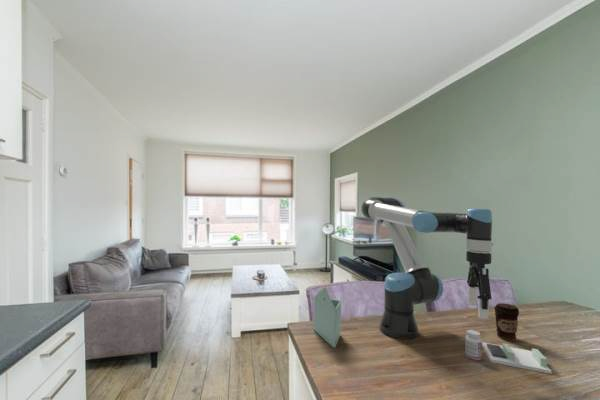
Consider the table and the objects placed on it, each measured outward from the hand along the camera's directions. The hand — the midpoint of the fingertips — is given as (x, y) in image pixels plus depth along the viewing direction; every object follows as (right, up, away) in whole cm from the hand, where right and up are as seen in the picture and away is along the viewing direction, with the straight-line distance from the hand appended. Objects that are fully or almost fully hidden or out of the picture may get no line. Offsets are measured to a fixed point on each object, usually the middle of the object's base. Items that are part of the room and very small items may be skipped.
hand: (477, 311), depth 97 cm
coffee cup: (+21, -17, +13) cm, 30 cm away
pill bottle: (-3, -15, -2) cm, 16 cm away
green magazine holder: (-51, -14, +10) cm, 54 cm away
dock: (+11, -16, -2) cm, 19 cm away
